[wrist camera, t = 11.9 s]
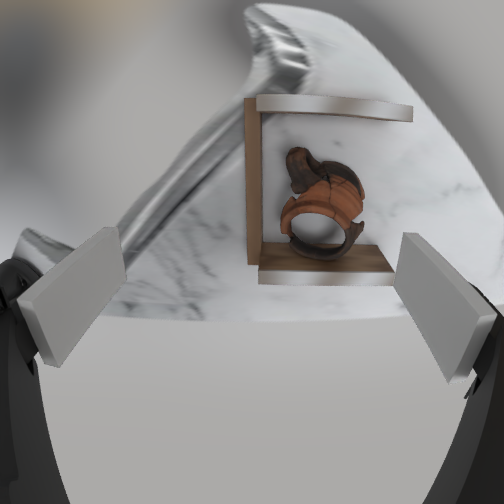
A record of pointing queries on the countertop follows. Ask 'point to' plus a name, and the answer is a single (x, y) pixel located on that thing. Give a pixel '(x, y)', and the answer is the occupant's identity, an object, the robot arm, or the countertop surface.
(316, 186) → the pottery mug
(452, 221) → the countertop surface
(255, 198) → the wooden stand
